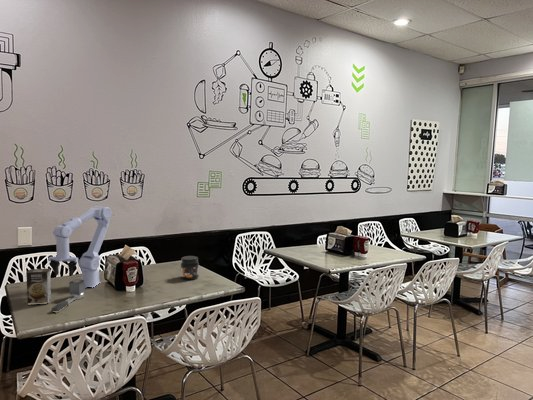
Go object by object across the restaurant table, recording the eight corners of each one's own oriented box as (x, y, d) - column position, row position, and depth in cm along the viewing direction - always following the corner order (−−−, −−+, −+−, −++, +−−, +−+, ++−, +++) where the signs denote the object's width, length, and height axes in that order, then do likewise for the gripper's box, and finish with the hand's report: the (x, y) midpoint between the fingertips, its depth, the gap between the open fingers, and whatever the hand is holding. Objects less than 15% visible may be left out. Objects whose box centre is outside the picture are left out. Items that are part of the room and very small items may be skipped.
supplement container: (177, 279, 237) (177, 259, 236) (185, 274, 247) (185, 254, 246) (193, 281, 234) (193, 260, 233) (201, 276, 244) (201, 256, 243)
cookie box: (27, 306, 193) (25, 272, 191) (30, 301, 199) (29, 268, 197) (48, 304, 195) (47, 271, 193) (51, 299, 201) (50, 267, 199)
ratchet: (74, 295, 208) (74, 284, 207) (86, 295, 208) (86, 285, 207) (48, 312, 185) (47, 300, 185) (61, 313, 185) (60, 301, 184)
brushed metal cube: (75, 291, 207) (74, 279, 206) (84, 291, 207) (84, 279, 206) (69, 294, 202) (69, 282, 201) (79, 294, 202) (79, 282, 201)
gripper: (44, 250, 203) (45, 277, 205) (72, 251, 202) (73, 278, 204) (52, 247, 210) (53, 273, 212) (79, 248, 209) (80, 274, 211)
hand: (63, 275), depth 208 cm, fingers open, 7 cm apart
